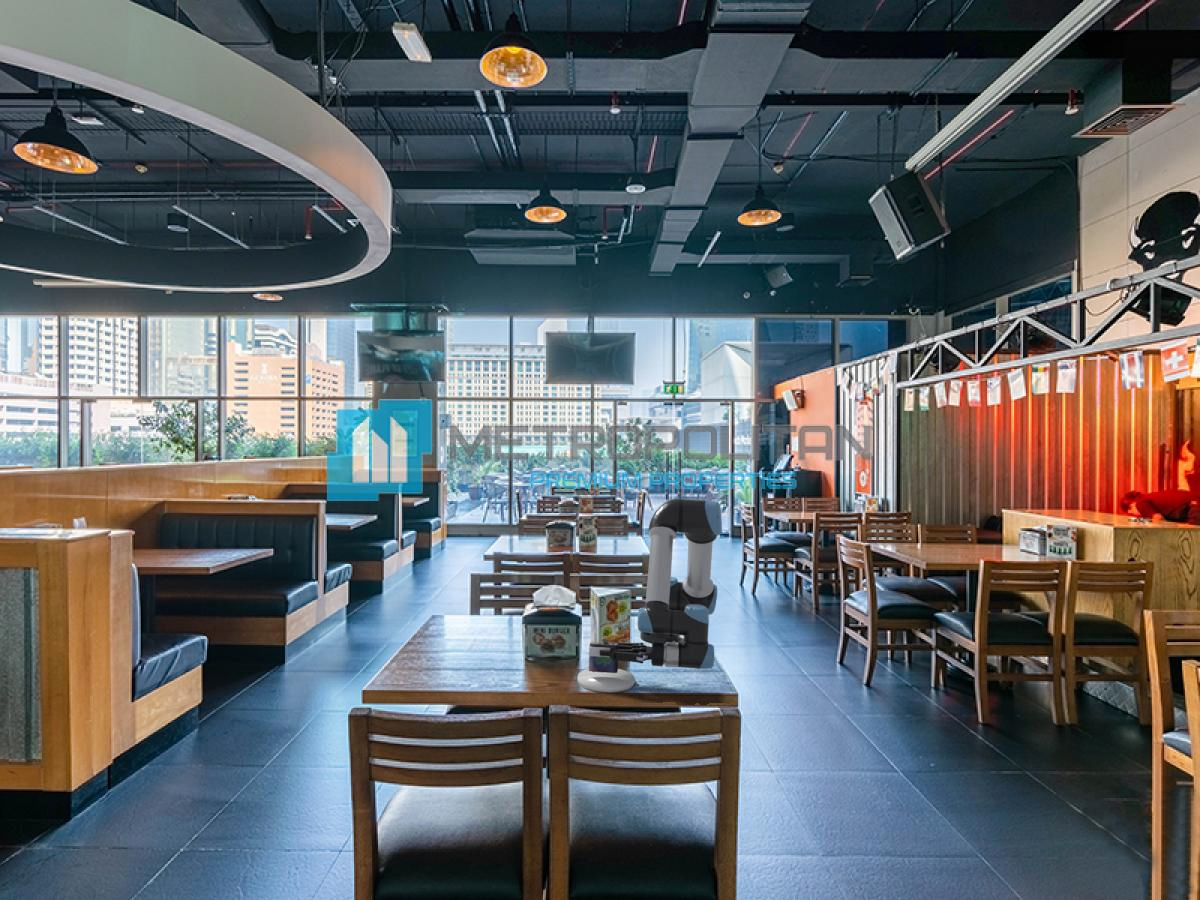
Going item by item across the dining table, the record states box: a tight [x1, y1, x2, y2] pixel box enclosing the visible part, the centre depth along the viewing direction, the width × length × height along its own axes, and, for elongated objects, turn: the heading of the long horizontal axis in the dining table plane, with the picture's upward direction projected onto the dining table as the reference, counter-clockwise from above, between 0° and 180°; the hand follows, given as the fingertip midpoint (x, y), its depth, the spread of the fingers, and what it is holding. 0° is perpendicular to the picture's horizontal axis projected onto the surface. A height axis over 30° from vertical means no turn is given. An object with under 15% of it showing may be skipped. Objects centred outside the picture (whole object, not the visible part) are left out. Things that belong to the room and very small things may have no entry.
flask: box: [588, 636, 619, 673], centre depth 218 cm, size 9×3×11 cm, turn 86°
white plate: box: [577, 668, 635, 693], centre depth 219 cm, size 18×18×2 cm
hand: (589, 649), depth 219 cm, fingers closed on flask, 3 cm apart
